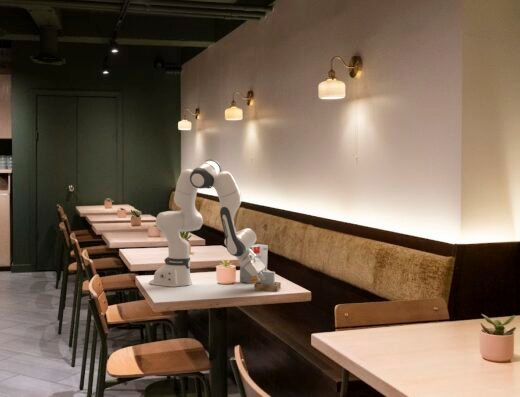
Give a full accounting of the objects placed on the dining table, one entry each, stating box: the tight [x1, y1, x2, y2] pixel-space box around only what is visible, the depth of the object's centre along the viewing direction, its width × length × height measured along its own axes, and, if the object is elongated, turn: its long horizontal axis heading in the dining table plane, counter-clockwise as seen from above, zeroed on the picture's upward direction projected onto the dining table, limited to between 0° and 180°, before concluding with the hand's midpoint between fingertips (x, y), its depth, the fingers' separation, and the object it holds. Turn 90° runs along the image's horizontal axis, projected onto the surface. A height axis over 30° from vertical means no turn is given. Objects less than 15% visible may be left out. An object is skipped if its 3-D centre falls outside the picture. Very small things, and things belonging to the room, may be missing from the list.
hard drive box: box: [239, 244, 269, 284], centre depth 355 cm, size 16×8×20 cm, turn 143°
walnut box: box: [253, 281, 282, 292], centre depth 334 cm, size 12×10×3 cm
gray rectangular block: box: [260, 270, 276, 285], centre depth 334 cm, size 7×3×9 cm, turn 78°
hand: (266, 278), depth 334 cm, fingers closed on gray rectangular block, 3 cm apart
